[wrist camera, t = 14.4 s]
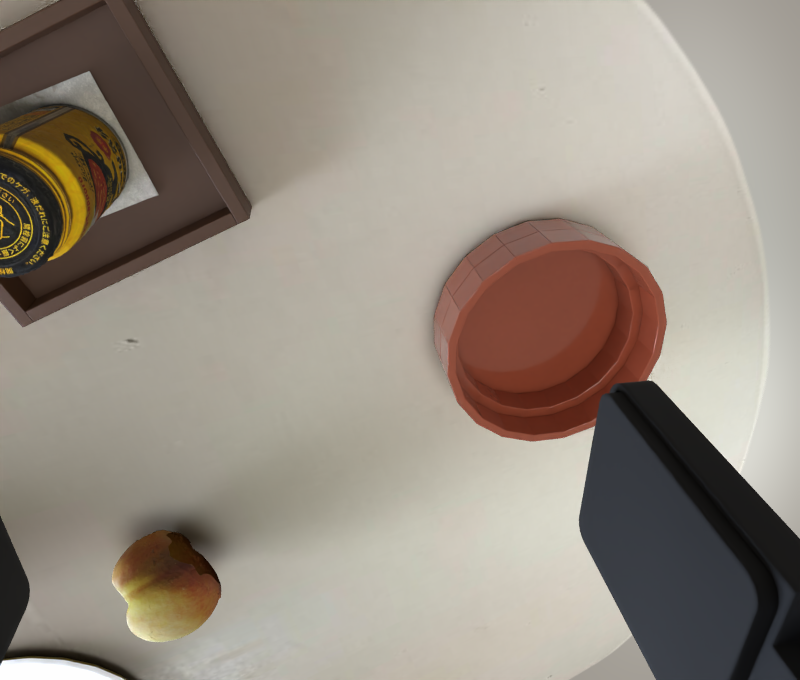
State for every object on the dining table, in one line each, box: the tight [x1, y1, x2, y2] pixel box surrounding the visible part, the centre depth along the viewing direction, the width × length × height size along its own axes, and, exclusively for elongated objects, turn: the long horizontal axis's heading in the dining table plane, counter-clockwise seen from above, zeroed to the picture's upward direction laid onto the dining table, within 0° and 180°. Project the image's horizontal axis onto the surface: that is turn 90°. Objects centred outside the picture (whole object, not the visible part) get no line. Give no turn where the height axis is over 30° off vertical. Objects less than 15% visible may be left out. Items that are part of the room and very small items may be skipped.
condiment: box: [0, 71, 159, 278], centre depth 30 cm, size 7×8×12 cm
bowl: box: [434, 219, 667, 441], centre depth 44 cm, size 15×15×5 cm
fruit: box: [112, 530, 221, 642], centre depth 47 cm, size 8×8×8 cm
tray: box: [0, 0, 252, 327], centre depth 35 cm, size 16×14×2 cm
